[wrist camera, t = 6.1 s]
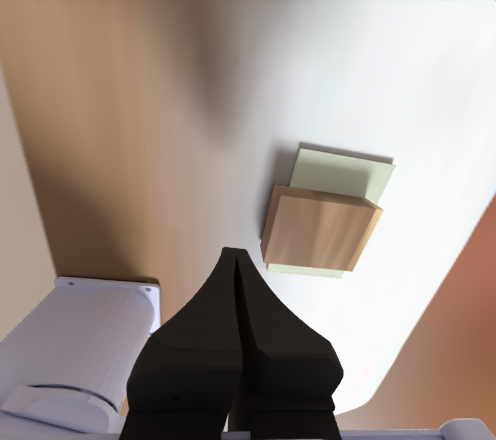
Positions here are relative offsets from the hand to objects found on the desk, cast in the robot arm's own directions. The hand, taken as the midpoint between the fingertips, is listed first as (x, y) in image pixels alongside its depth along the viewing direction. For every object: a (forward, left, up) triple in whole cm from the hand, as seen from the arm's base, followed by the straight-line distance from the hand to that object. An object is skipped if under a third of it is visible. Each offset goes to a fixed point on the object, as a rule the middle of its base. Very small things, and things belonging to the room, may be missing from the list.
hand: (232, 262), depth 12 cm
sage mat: (+8, 0, -7) cm, 11 cm away
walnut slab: (+3, 0, -5) cm, 6 cm away
